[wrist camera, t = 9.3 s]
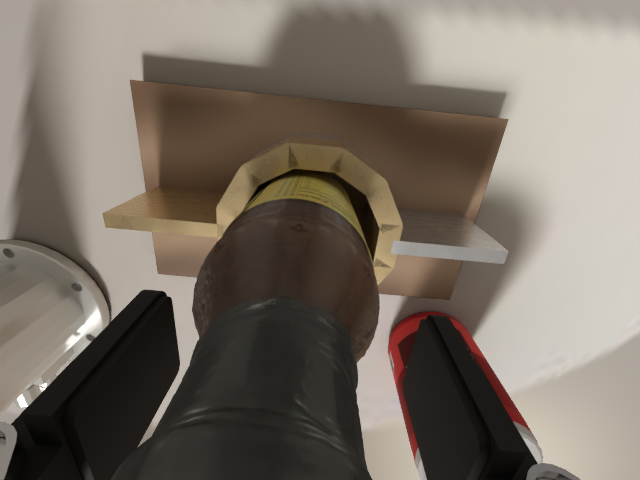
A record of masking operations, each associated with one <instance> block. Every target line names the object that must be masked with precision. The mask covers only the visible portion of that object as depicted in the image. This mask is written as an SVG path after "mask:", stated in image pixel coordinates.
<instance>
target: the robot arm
mask: <svg viewBox="0 0 640 480" xmlns="http://www.w3.org/2000/svg"><path fill="white" fill-rule="evenodd" d="M69 360H73V361H72V362H71V363H70V364H69V365H68V366H67V367H66V368H65V369H64V370H63V371H62V372H61V373H60V374H59V375H58V376H56V373H57V371H58V370H59V369H60V368H61V367H62V366H63V365H64V364H65V363H66V362H67V361H69ZM179 366H180V359H179V352H178V344H177V336H176V328H175V321H174V313H173V305H172V299H171V297H167V295H166V293H165V292H163V291H154V290H142V291H141V292H140V293H139V294H138V295H137V296H136V297H135V298H134V299H133V300H132V301H131V302H130V303H129V304H128V305H127V306H126V307H125V308H124V309H123V310H122V311H121V312H120V313H119V314H118V315H117V316H116V317H115V318H114V319H113V320H112V321H111V322H110V323H109V310H108V306H107V303H106V301H105V298H104V296H103V294H102V292H101V291H100V289H99V288H98V286H97V285H96V283H95V282H94V281H93V280H92V278H91V277H90V276H89V275H88V274H87V273H86V272H85V271H84V270H83V269H81V268H80V267H79V266H78V265H76V264H75V263H74V262H73V261H71V260H70V259H68V258H66V257H65V256H63V255H61V254H60V253H58V252H56V251H54V250H51V249H49V248H47V247H44V246H42V245H38V244H35V243H31V242H28V241H21V240H13V239H10V240H0V414H2V413H3V412H4V411H5V410H6V409H7V408H8V407H9V406H10V405H11V404H12V403H13V402H14V403H15V405H16V406H17V407H25V406H28V405H29V406H28V407H27V408H26V409H25V410H24V411H23V412H22V413H21V415H20V416H19V417H18V418H17V419H16V420H15V421H14V422H13V423H12V424H11V425H10V424H8V423H6V422H0V480H111V478H112V477H113V475H114V474H115V472H116V470H117V469H118V467H119V466H120V465H121V464H122V463H123V462H124V461H125V460H126V458H127V457H128V455H130V454H131V453H132V452H133V451H134V450H135V449H137V447H138V445H139V443H140V441H141V439H142V438H143V436H144V434H145V432H146V430H147V429H148V427H149V425H150V423H151V421H152V419H153V418H154V416H155V414H156V412H157V410H158V408H159V407H160V405H161V403H162V401H163V399H164V398H165V396H166V394H167V392H168V390H169V388H170V387H171V385H172V383H173V381H174V379H175V377H176V376H177V373H178V371H179ZM403 393H404V397H405V401H406V404H407V408H408V412H409V415H410V419H411V423H412V426H413V430H414V434H415V438H416V441H417V445H418V449H419V452H420V456H421V460H422V463H423V467H424V471H425V474H426V478H427V480H580V479H579V478H578V477H576V476H575V475H573V474H571V473H570V472H568V471H566V470H565V469H562V468H560V467H557V466H555V465H552V464H545V463H539V464H538V463H537V461H536V460H535V458H534V456H533V455H532V453H531V451H530V450H529V448H528V446H527V445H526V443H525V441H524V439H523V438H522V436H521V434H520V433H519V431H518V429H517V428H516V426H515V424H514V423H513V421H512V419H511V417H510V416H509V414H508V412H507V411H506V409H505V407H504V406H503V404H502V402H501V401H500V399H499V397H498V395H497V394H496V392H495V390H494V389H493V387H492V385H491V384H490V382H489V380H488V379H487V377H486V375H485V373H484V372H483V370H482V369H481V367H480V366H479V365H478V364H476V362H475V361H474V359H473V357H472V355H471V354H470V352H469V350H468V349H467V347H466V345H465V343H464V342H463V340H462V338H461V337H460V335H459V333H458V331H457V330H456V328H455V326H454V324H453V323H452V321H451V319H450V318H449V317H448V316H441V315H428V316H427V317H426V319H421V321H420V324H419V327H418V331H417V334H416V338H415V341H414V345H413V348H412V352H411V355H410V358H409V362H408V365H407V369H406V372H405V376H404V379H403Z"/></svg>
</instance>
